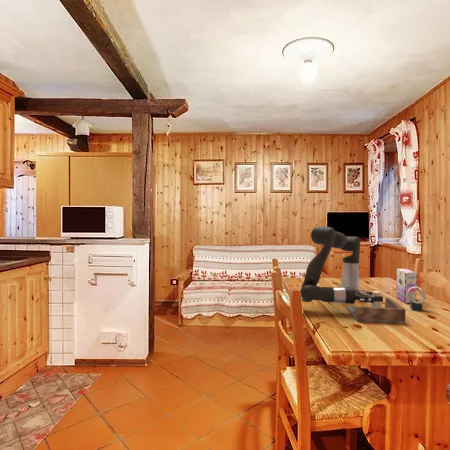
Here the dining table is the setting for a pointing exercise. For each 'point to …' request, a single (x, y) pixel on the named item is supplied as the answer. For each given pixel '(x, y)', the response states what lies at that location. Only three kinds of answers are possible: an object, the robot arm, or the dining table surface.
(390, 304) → the corner wooden bin
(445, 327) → the dining table surface
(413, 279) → the candy box
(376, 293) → the pepper shaker
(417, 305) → the watch
